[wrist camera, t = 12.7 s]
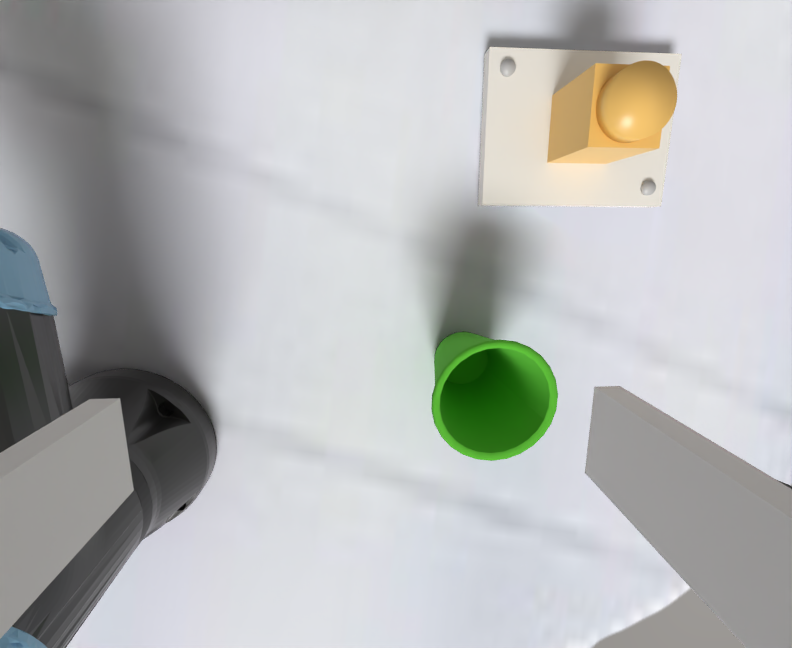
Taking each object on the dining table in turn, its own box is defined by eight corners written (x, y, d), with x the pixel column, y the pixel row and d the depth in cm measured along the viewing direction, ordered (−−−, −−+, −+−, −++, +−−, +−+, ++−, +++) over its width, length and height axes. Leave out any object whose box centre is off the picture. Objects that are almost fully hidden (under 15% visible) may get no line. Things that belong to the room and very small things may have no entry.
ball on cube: (547, 162, 35) (599, 142, 27) (552, 95, 34) (608, 53, 26) (606, 163, 35) (675, 143, 27) (613, 97, 34) (687, 56, 26)
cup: (436, 296, 38) (463, 321, 27) (522, 331, 39) (581, 367, 29) (399, 383, 40) (412, 438, 29) (483, 413, 41) (525, 477, 30)
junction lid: (477, 205, 37) (497, 201, 31) (484, 54, 34) (506, 21, 29) (649, 207, 38) (696, 202, 32) (668, 61, 35) (723, 30, 30)
